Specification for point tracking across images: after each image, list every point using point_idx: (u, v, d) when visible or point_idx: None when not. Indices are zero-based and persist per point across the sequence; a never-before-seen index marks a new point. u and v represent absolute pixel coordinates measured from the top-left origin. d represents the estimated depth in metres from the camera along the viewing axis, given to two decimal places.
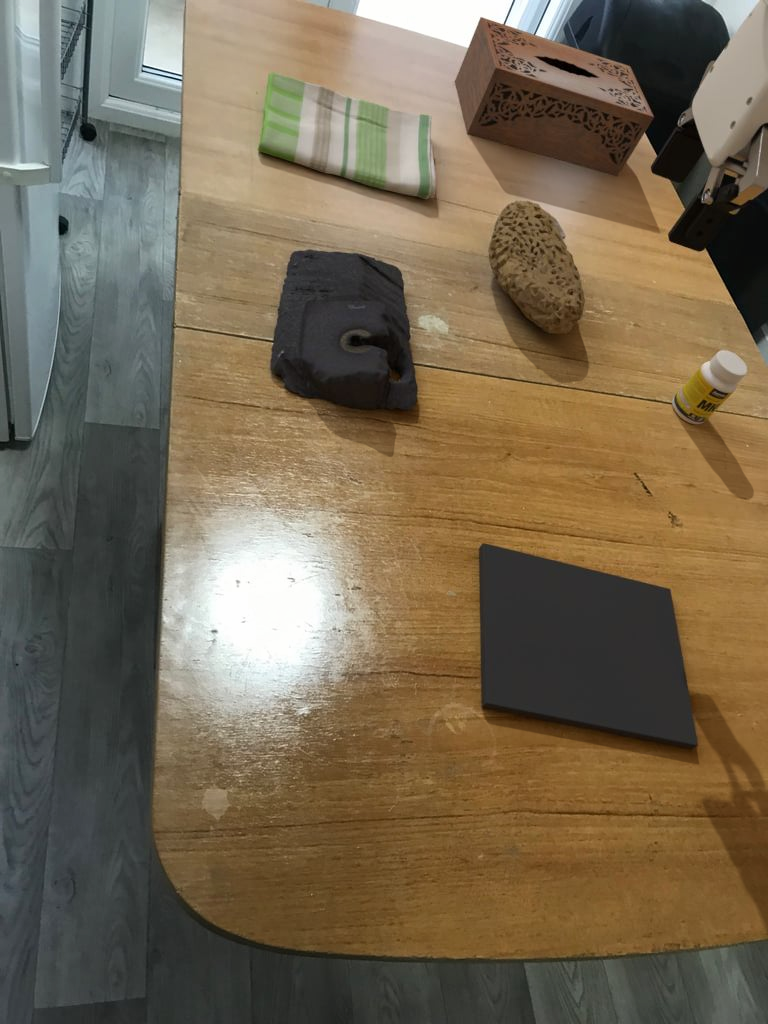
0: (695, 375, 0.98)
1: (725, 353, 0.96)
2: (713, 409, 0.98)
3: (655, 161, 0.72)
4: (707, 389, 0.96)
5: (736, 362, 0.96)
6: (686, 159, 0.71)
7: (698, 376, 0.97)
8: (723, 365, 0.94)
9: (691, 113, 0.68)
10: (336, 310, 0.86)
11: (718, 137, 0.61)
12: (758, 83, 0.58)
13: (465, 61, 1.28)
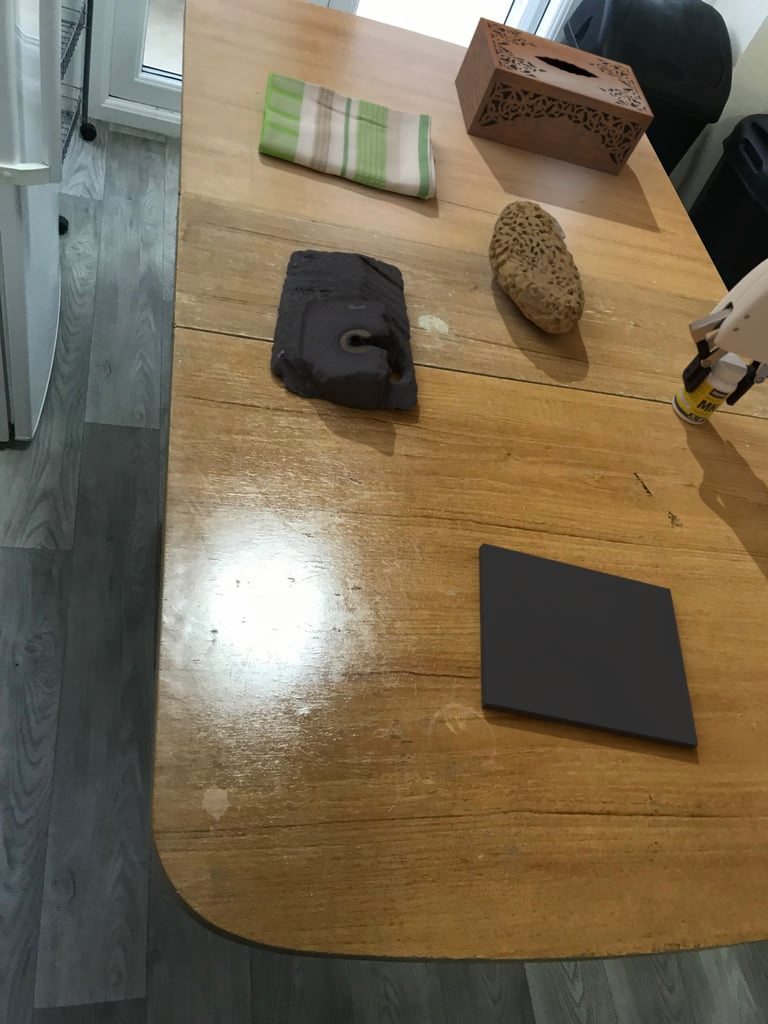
0: None
1: None
2: (713, 409, 0.98)
3: (693, 388, 0.97)
4: (707, 389, 0.96)
5: (736, 362, 0.96)
6: None
7: None
8: (723, 365, 0.94)
9: (718, 356, 0.93)
10: (336, 310, 0.86)
11: None
12: None
13: (465, 61, 1.28)
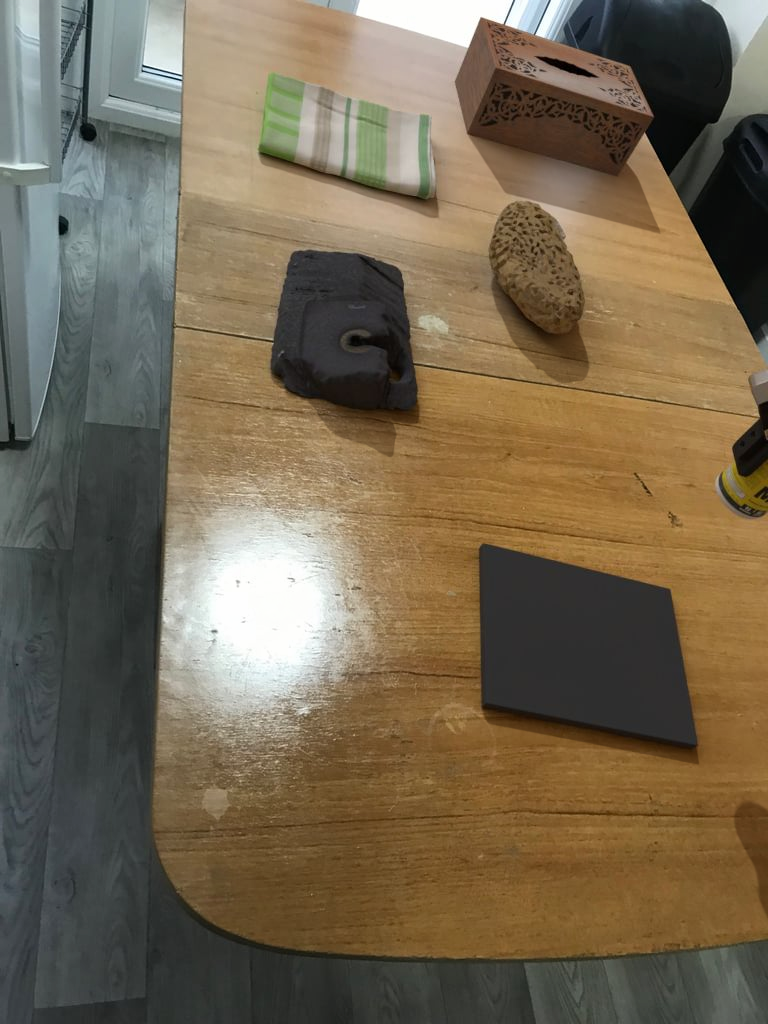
0: None
1: None
2: None
3: (750, 471, 0.63)
4: None
5: None
6: None
7: None
8: None
9: None
10: (336, 310, 0.86)
11: None
12: None
13: (465, 61, 1.28)
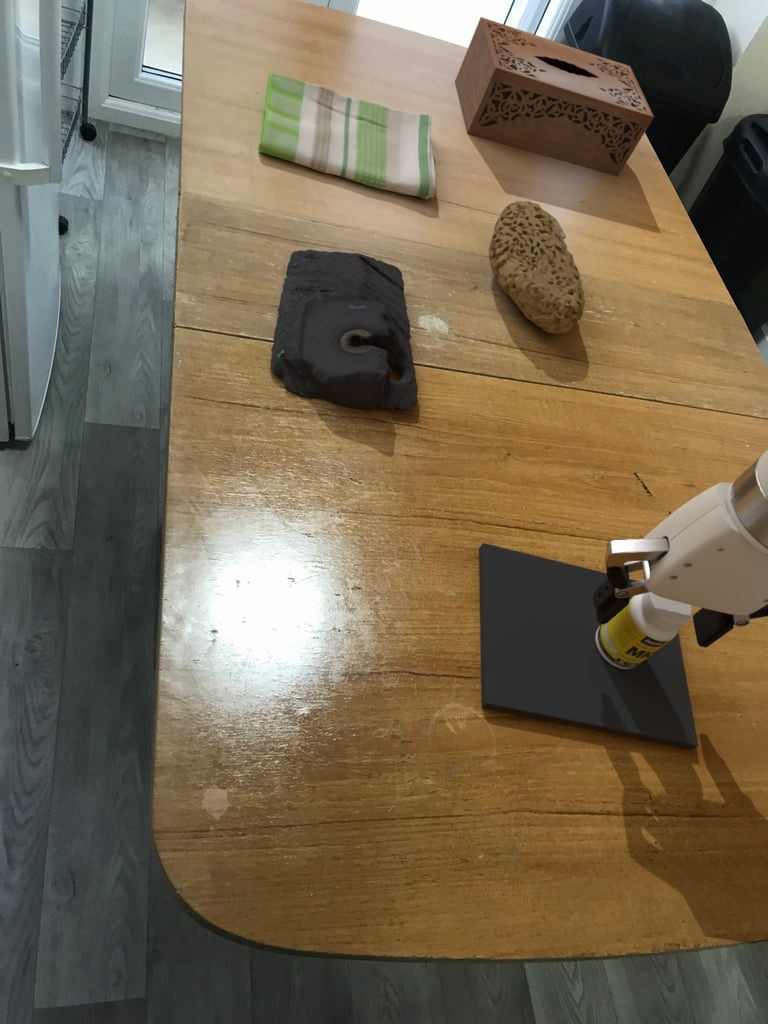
0: (623, 611, 0.72)
1: None
2: (647, 655, 0.73)
3: (606, 620, 0.69)
4: (638, 635, 0.70)
5: None
6: None
7: (626, 615, 0.71)
8: (657, 609, 0.69)
9: (640, 590, 0.66)
10: (336, 310, 0.86)
11: (747, 607, 0.65)
12: None
13: (465, 61, 1.28)
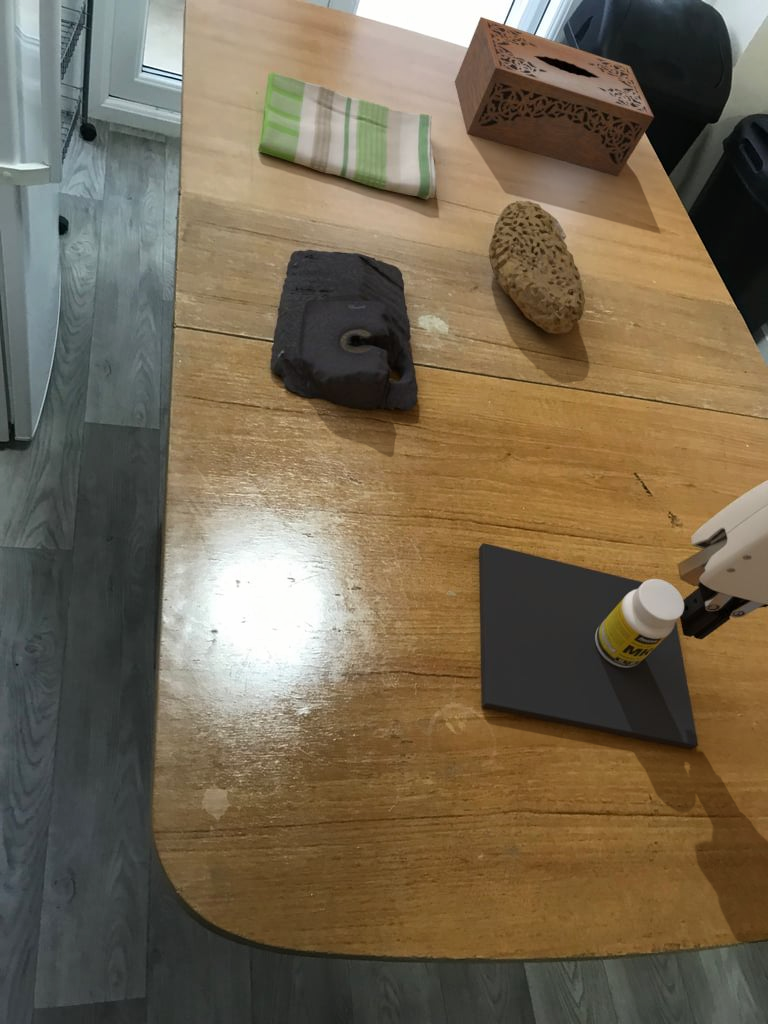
0: (616, 610, 0.72)
1: (652, 585, 0.70)
2: (646, 653, 0.72)
3: (693, 632, 0.70)
4: (631, 634, 0.70)
5: (668, 597, 0.69)
6: None
7: (619, 614, 0.71)
8: (646, 607, 0.68)
9: (723, 598, 0.66)
10: (336, 310, 0.86)
11: None
12: None
13: (465, 61, 1.28)
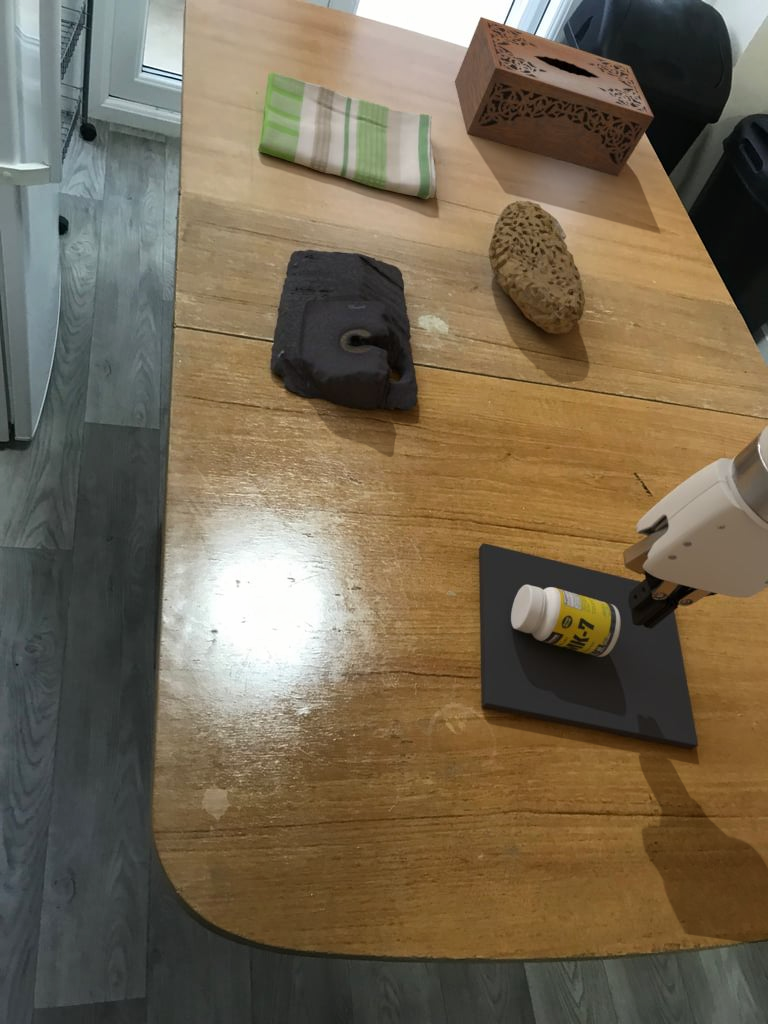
0: None
1: (517, 598, 0.73)
2: (582, 640, 0.71)
3: (642, 621, 0.69)
4: None
5: (523, 601, 0.72)
6: None
7: None
8: (512, 624, 0.72)
9: (669, 586, 0.65)
10: (336, 310, 0.86)
11: (748, 589, 0.63)
12: None
13: (465, 61, 1.28)
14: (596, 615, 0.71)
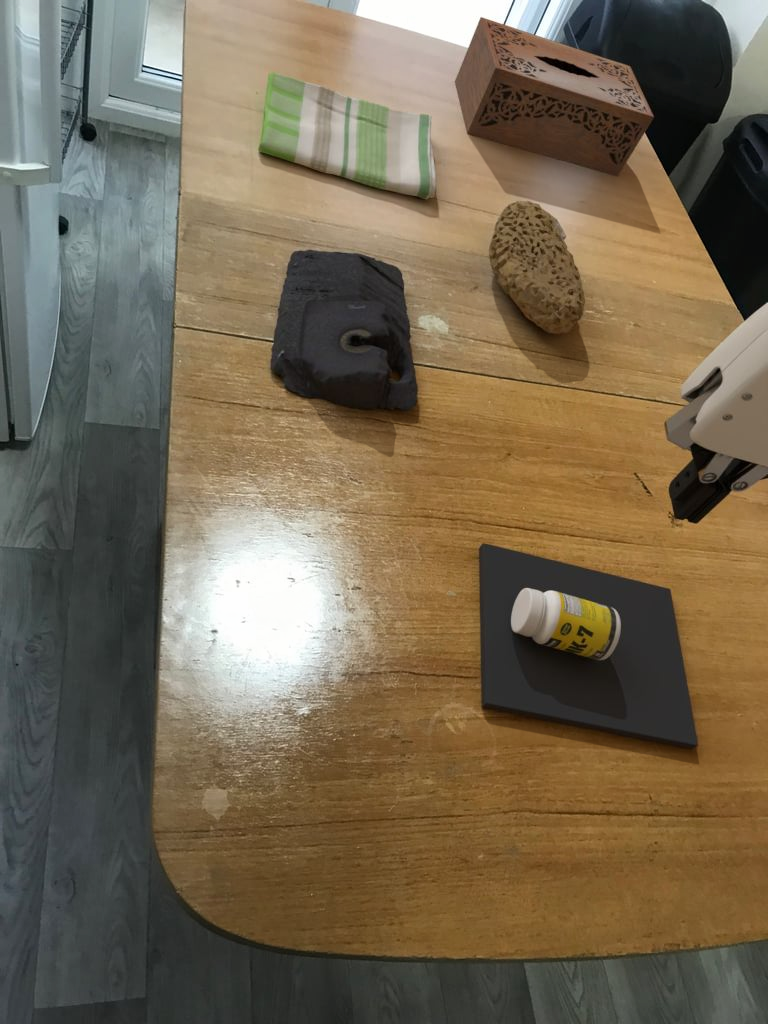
0: None
1: (518, 599, 0.73)
2: (580, 646, 0.71)
3: (686, 514, 0.58)
4: None
5: (523, 605, 0.71)
6: None
7: None
8: (511, 626, 0.72)
9: (720, 464, 0.54)
10: (336, 310, 0.86)
11: None
12: None
13: (465, 61, 1.28)
14: (596, 622, 0.71)
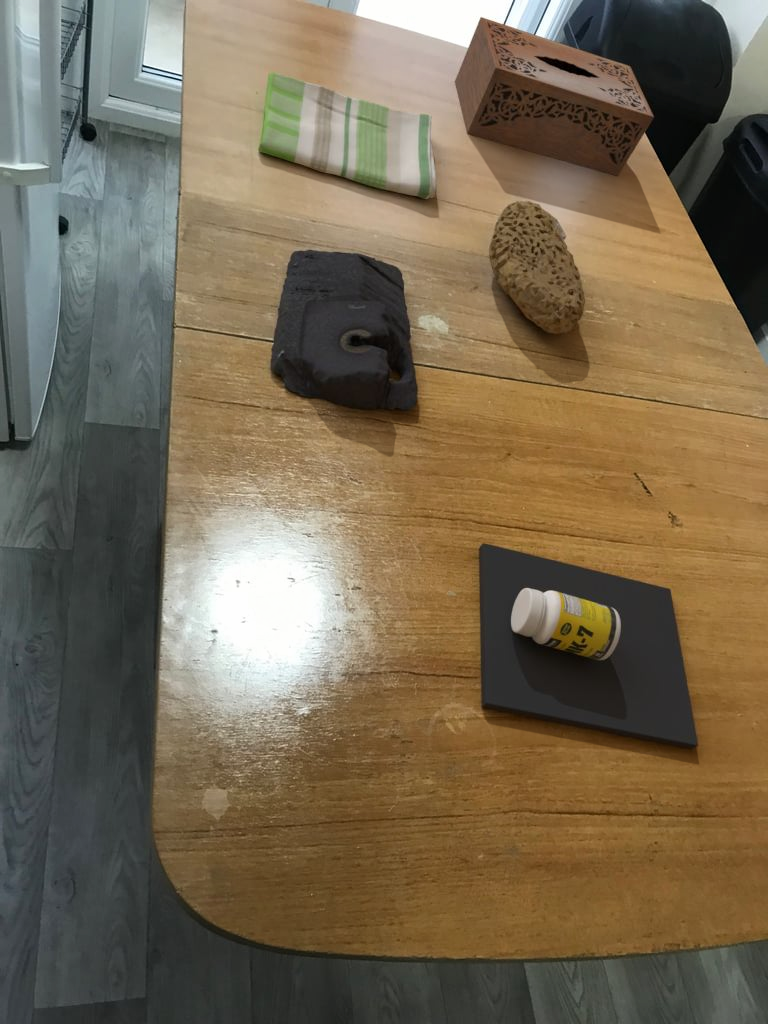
0: None
1: (518, 599, 0.73)
2: (580, 646, 0.71)
3: None
4: None
5: (523, 605, 0.71)
6: None
7: None
8: (511, 626, 0.72)
9: None
10: (336, 310, 0.86)
11: None
12: None
13: (465, 61, 1.28)
14: (596, 622, 0.71)
